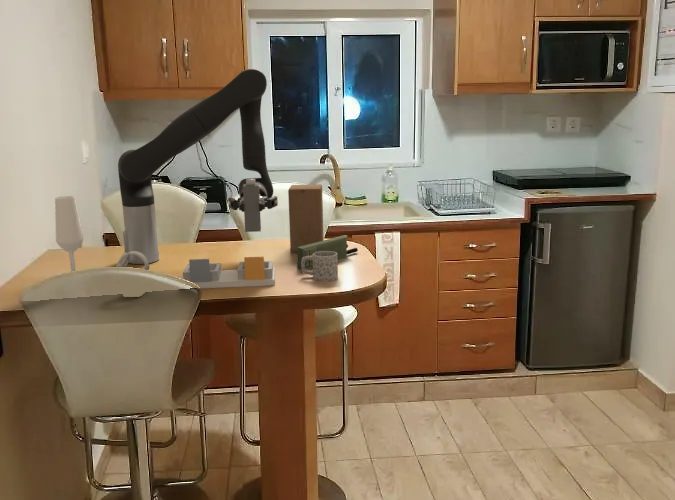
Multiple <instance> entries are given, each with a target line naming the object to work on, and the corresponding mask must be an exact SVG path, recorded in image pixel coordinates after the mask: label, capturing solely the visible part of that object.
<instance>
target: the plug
mask: <svg viewBox="0 0 675 500" xmlns="http://www.w3.org/2000/svg"><path fill="white" fill-rule="evenodd" d="M245 179H246V184H244V185H243V199H244V212H243V214H244V215H243V217H244V218H243V219H244V233H250V232H251V233H253V232H255V233H257V232H261V230H262V224H261V223H262V221H261V211H259V201H260V198H259V184H255V179H247V178H245Z"/></svg>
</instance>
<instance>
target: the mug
mask: <svg viewBox="0 0 675 500" xmlns="http://www.w3.org/2000/svg"><path fill="white" fill-rule="evenodd" d="M306 260H313V267H312V270H308V269H305V261H306ZM338 260H339V259H338V258H337V253H336V252H333V251H319V252H315V253H313V255H312V256H305V257H303V258H302V261H301V268H302V270H301V271H302V273H303V274H305V275H309V276H312V278H313V280H315V281H318V282H331V281H335V280H337V279H338V278H339V273H338V272H339V269H338V263H339V262H338Z"/></svg>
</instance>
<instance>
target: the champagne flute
mask: <svg viewBox="0 0 675 500" xmlns="http://www.w3.org/2000/svg"><path fill="white" fill-rule="evenodd" d="M54 205H55V208H54V209H55V212H54V214H55V219H54V220H55V243H56V244H57V245H58V246H59V248H61V249H62V250H63V251H65V252H67V253H68V257H69V264H70V273H71V272H72V271H76V272H77V270H76V259H75V252H76V251H77V250H78V249H79V248H80V247H81V246H82V244H83V243H84V239H85V238H84V233H83V228H82V223H81V219H80V214H79V209H78V204H77V200H76V196H75V195H64V196H56V197H55V198H54Z"/></svg>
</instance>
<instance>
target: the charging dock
mask: <svg viewBox="0 0 675 500" xmlns="http://www.w3.org/2000/svg"><path fill="white" fill-rule="evenodd" d="M243 259H244V261H240V262H239V263H238V267H237V269H224V270H223V269H222V263H221V262H210V258H192V259H189V260H188V262H189V263H186V266H185V268H184V270H183V271H182V280H183V279H185V280H188V281H190V282H193V283H195V284H196V285H198V286H199V287H200V288H199V289H213V288H215V289H217V288H242V287H244V288H245V287H264V286H275V285H276V283H275V282H276V268H275V267H274V264H273V263H274V262H273V261H274V260H265V256H245V257H243Z"/></svg>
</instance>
